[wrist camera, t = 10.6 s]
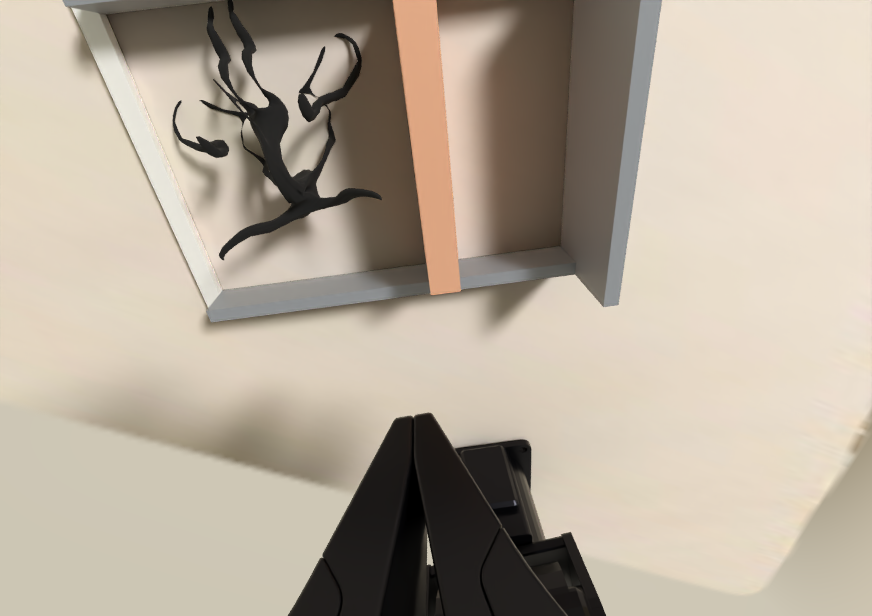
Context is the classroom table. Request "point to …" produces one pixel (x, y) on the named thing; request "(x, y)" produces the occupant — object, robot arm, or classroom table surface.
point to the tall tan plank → (428, 138)
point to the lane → (578, 254)
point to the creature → (276, 136)
